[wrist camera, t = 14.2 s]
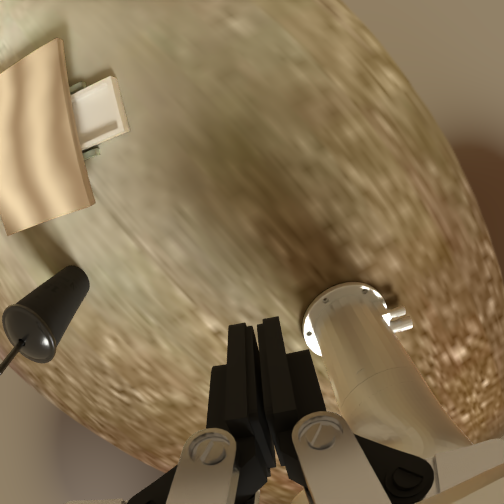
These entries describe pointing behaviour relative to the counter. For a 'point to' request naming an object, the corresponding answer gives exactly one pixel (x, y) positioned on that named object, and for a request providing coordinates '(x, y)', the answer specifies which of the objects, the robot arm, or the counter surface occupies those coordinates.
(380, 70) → the counter surface
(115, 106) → the white rectangular tray
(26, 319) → the drinking cup
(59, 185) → the shelf
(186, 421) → the counter surface
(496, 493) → the robot arm
